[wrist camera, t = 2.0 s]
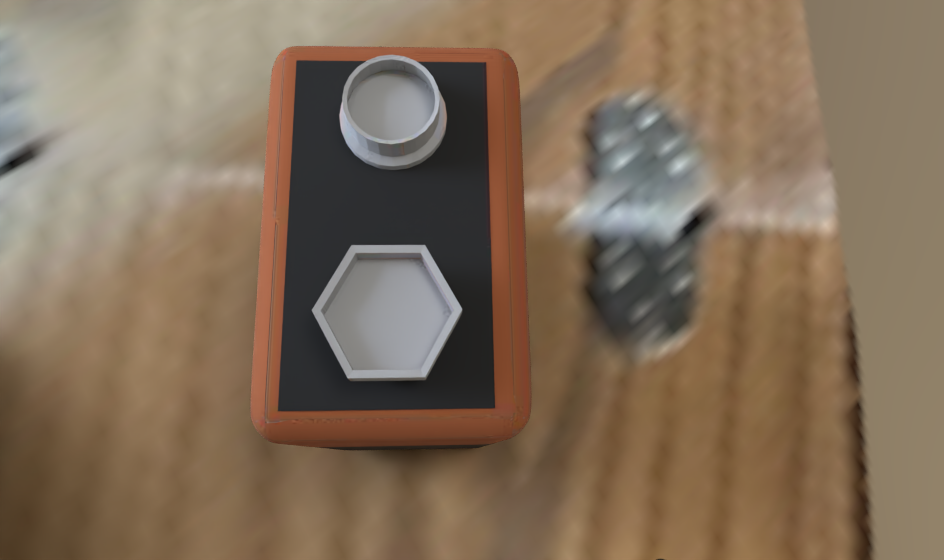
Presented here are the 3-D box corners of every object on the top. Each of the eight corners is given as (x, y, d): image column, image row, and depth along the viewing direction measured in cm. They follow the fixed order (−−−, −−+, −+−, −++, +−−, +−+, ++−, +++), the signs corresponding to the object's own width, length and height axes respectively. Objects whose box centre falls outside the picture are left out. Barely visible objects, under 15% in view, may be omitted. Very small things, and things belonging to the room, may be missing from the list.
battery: (333, 451, 19) (220, 442, 9) (340, 216, 20) (252, 0, 11) (491, 448, 19) (546, 437, 9) (486, 216, 21) (527, 4, 11)
